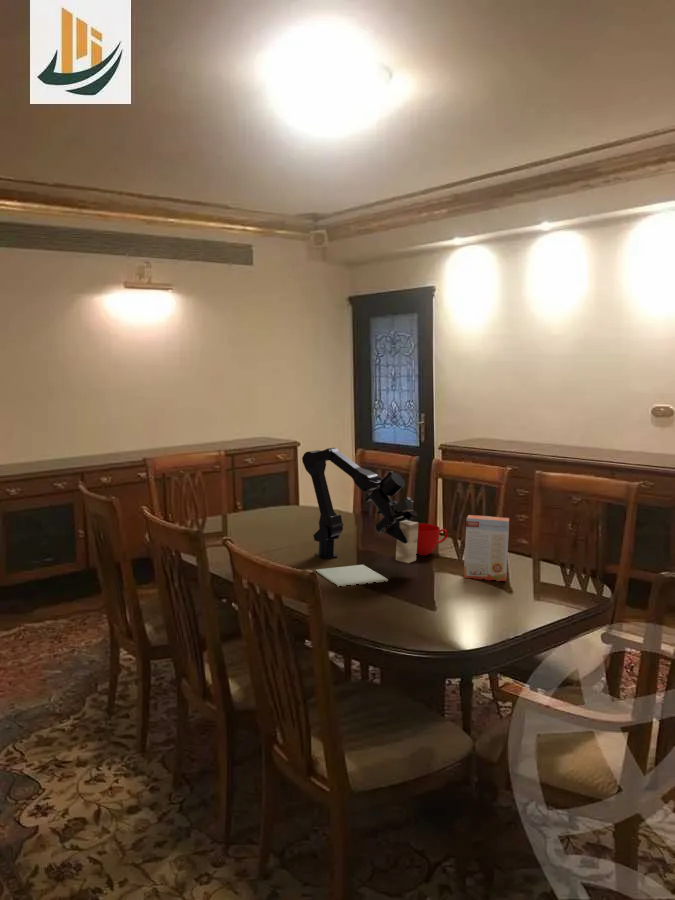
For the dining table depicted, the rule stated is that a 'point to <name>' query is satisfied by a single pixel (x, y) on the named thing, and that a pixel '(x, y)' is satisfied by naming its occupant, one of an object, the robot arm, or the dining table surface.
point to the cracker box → (486, 547)
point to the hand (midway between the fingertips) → (410, 541)
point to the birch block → (410, 548)
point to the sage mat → (351, 575)
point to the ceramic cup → (428, 538)
